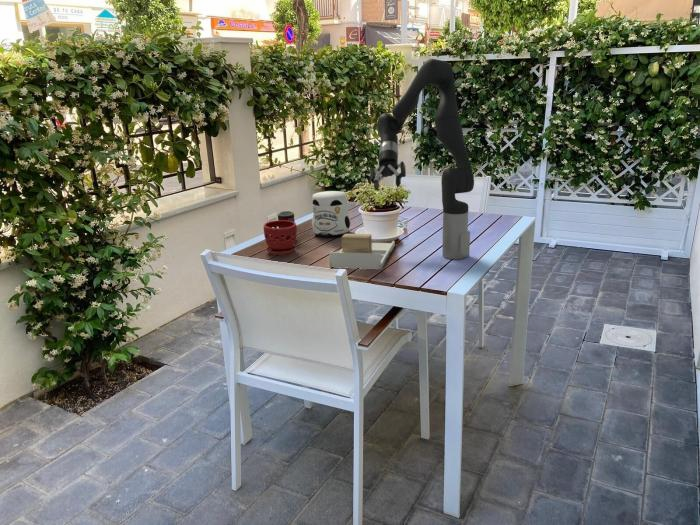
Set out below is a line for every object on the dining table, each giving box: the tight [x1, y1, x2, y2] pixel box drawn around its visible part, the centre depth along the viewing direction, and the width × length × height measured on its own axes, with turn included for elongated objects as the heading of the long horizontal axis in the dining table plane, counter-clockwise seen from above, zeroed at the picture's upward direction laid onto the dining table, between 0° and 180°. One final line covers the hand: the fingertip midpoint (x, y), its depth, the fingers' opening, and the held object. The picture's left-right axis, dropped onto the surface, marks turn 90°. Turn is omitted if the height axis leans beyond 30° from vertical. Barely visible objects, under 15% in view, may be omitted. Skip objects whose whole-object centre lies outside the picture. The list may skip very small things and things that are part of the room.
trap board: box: [328, 240, 396, 271], centre depth 208 cm, size 30×19×6 cm, turn 166°
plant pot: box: [263, 219, 298, 256], centre depth 217 cm, size 13×13×12 cm
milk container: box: [311, 190, 352, 238], centre depth 239 cm, size 17×17×18 cm
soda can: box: [277, 210, 296, 228], centre depth 233 cm, size 7×7×12 cm
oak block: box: [341, 233, 373, 253], centre depth 197 cm, size 5×10×10 cm, turn 76°
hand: (387, 187), depth 210 cm, fingers open, 8 cm apart
